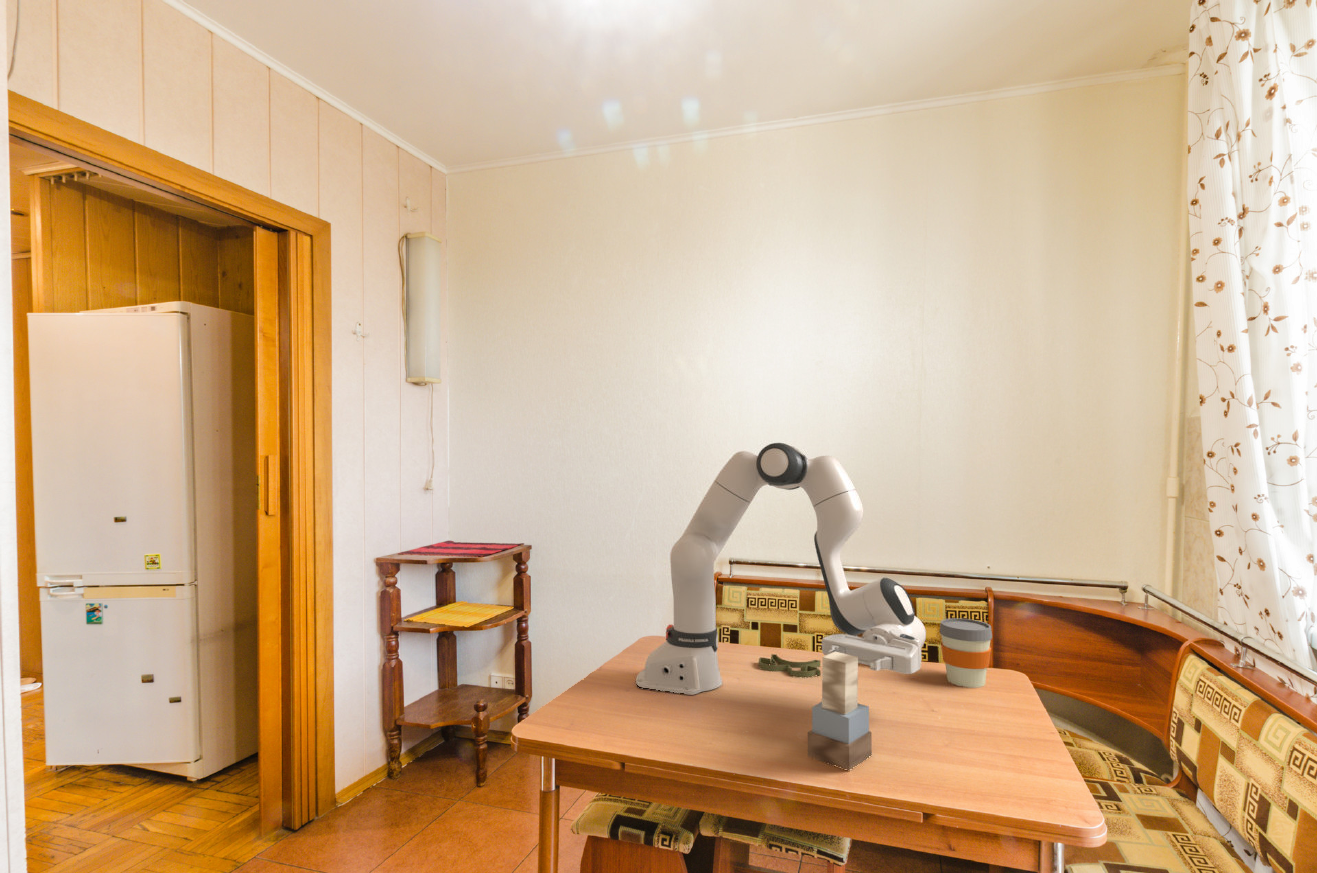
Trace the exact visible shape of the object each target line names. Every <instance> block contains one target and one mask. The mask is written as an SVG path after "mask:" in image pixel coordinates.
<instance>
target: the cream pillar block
mask: <svg viewBox="0 0 1317 873" xmlns="http://www.w3.org/2000/svg"><path fill="white" fill-rule="evenodd" d="M821 665H822V666H821V667H822V670H821V674H822V675H821V676H822V678H821V680H822V681H821V683H822V684H821V689H822V690H821V702H822V708H825V709H828V710H832V711H835V712H838V713H841V714H844V715H845V714H847V713H849V712H851V711H852V710H854V709H856V708H857V703H858V694H859V693H858V689H859V688H858V686H859V685H858V684H859V678H858V677H859V672H858V671H859V663H858V657H855V656H851V655H847V654H843V653H839V652H833V653H830V654H828V655H824V656H822V662H821Z"/></svg>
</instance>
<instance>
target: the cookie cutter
mask: <svg viewBox="0 0 1317 873" xmlns="http://www.w3.org/2000/svg"><path fill="white" fill-rule="evenodd" d="M768 664H770V665H768ZM758 667H759V669H761V670H763V669H764V671H768V672H787V674H788V673H789V674H788V675H791V676H790V677H793V676H795V677H794V678H800V677H802V679H805V677H806V679H807V678H808V677H810V678H813V677H812V676H815V675H817V676H815V677H818V676H822V675H821V674H822V670H821V669H819V668H820V667H821V660H819V659H813V660H808V661H791V660H786V659H783V658H781V657H779V656H778V655H777V654H773V653H772V654H771V655H770V658H768V657H759V658H758ZM817 667H818V668H817ZM794 669H800V670H794Z"/></svg>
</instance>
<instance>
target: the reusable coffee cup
mask: <svg viewBox="0 0 1317 873" xmlns="http://www.w3.org/2000/svg"><path fill="white" fill-rule="evenodd" d="M939 626H940V627H939V634H940V636H941V643H940V648H941V654H942V660H943V662H944V663H945V670H946V678H947V681H948V682H949V683H950V682H951V683H950V684H952V685H954V684H955V686H958V687H962V686H963V688H969V689H971V688H972V689H973V688H974V689H978V688H983V687H985V686H986V680H987V670H988V668H989V666H990V660H991V653H992V647H991V640H992V639H993V633H992V626H991V624H989V623H987V622H984V621H980V620H975V619H971V618H970V619H969V618H959V617H958V618H957V617H956V618H945V619H942V620H941V621H940V625H939ZM982 686H983V687H982Z"/></svg>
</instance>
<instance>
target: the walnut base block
mask: <svg viewBox="0 0 1317 873" xmlns="http://www.w3.org/2000/svg"><path fill="white" fill-rule="evenodd" d="M872 739H873V738H872V732H871V731H870V730H869V732H868V733H866V734H865V735H863V736H861V737H860V738H858V739H857V740H855V741H853V742H852V743H850V744H847V743H844V742H841V741H838V740H835V739H832V738H829V737H826V736H823V735H820V734H817V733H814V732H812V729H811V730H809V731H808V732H807V757H808V756H809V757H808V758H810V757H811V758H810V759H813V758H815V759H814V760H816V759H817V760H816V761H819V762H821V761H822V763H824V762H825V764H827V763H829V764H828V765H830V764H831V765H830V766H832V765H836V766H838V767H841V768H843V769H847V770H850V769H852V770H854V769H853V767H855V766H857V765H858V764H860V763H861V764H862V763H864V762H865V761H867V760H868V759H870V758H869V756H871V755H873V754H872V751H873V750H872V744H873V743H872V741H873V740H872ZM871 757H872V756H871ZM867 758H868V759H867ZM866 759H867V760H866ZM864 760H865V761H864ZM863 761H864V762H863ZM861 764H860V765H861ZM858 766H859V765H858ZM858 766H857V767H858ZM838 767H837V768H838ZM841 768H840V769H841ZM855 768H856V767H855ZM843 769H842V770H843Z"/></svg>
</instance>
